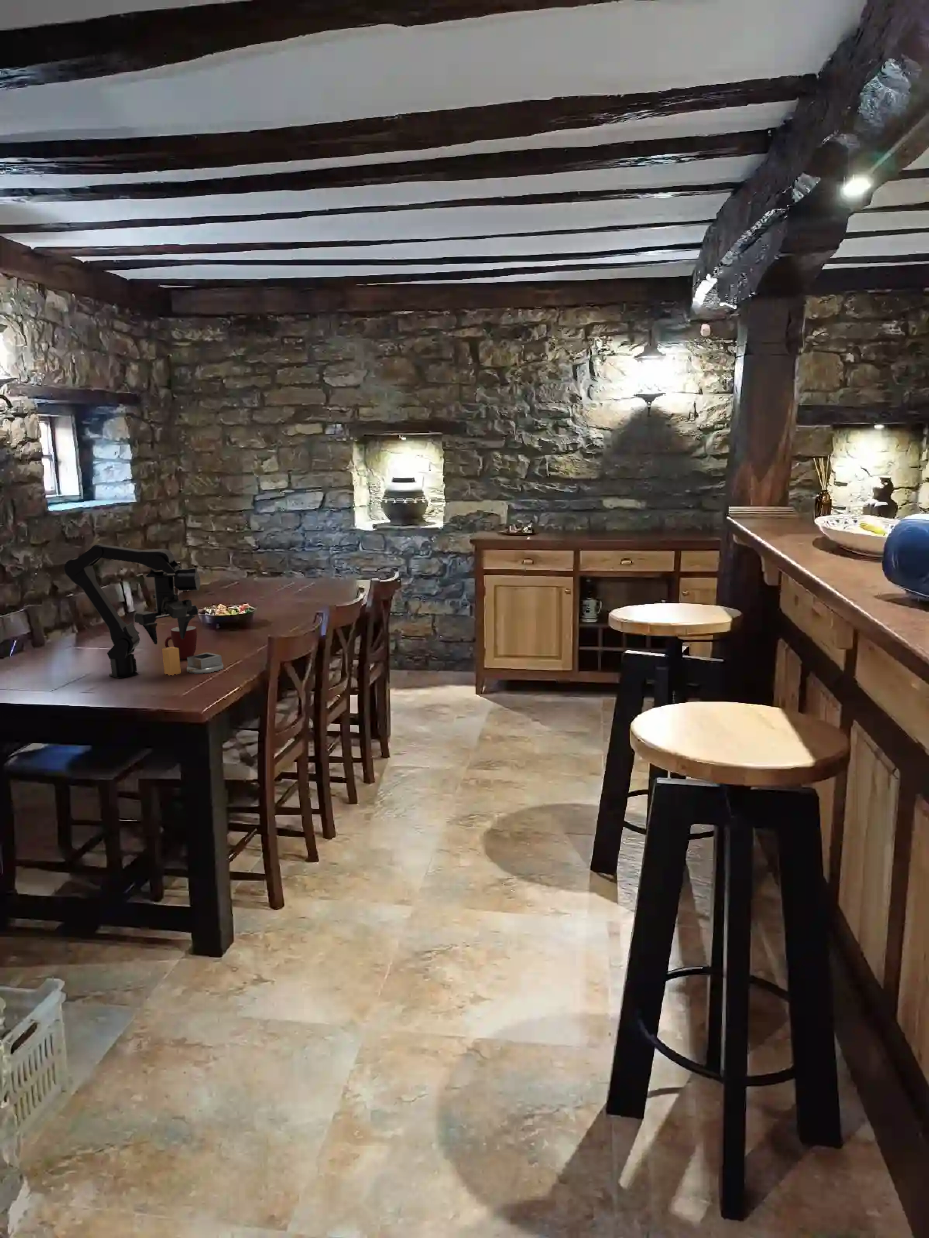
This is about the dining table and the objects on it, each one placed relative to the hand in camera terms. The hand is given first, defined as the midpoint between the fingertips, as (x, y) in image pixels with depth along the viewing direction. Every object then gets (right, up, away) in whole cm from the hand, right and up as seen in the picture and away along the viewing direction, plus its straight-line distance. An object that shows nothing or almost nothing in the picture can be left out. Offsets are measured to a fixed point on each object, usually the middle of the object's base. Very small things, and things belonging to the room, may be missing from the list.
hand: (169, 641), depth 272 cm
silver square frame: (+9, -9, +6) cm, 14 cm away
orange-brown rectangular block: (0, -10, +2) cm, 10 cm away
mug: (-3, -6, +21) cm, 22 cm away
